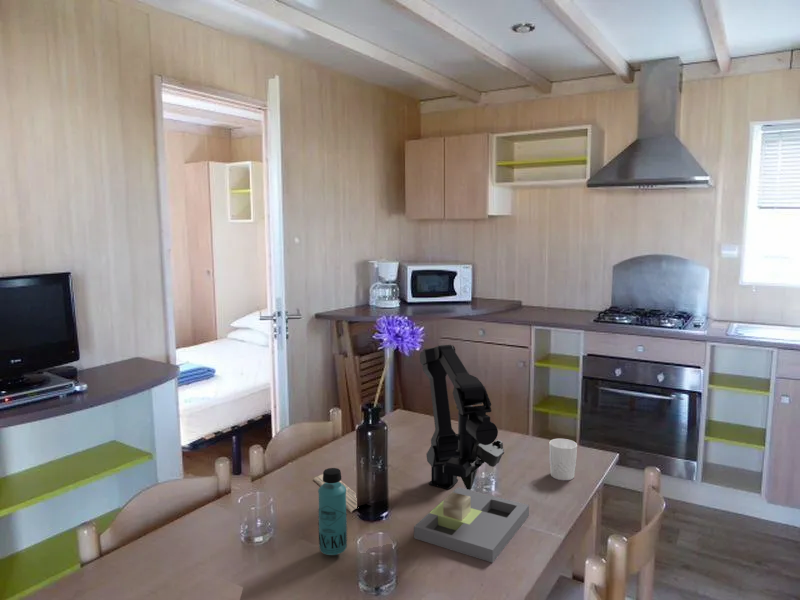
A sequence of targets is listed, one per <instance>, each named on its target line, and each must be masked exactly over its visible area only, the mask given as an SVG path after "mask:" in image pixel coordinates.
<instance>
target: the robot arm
mask: <svg viewBox="0 0 800 600" xmlns="http://www.w3.org/2000/svg"><path fill="white" fill-rule="evenodd" d="M419 363H420V365H421V368H422V371H423V372H424V374H425V375H426V376H427V377H428V379H429V386H430V395H431V405H432V412H433V413H432V414H433V422H434V432H433V434H432V437H431V438H430V448H429V449H428V451H427V452H426V462H427V463H428V464H429V465H430V466H431V468H430V469H431V471H430V472H431V480H430V481H428V485H430V486H434V487H437V488H442V489H446V490H450V489H451V488H452V487H453V486H454V485H455V484H456V483H458V482H459V479H458V478H461V480H462V483H463V484H464V486H465V489H467V490H471V491H472V488H473V486H474V482H475V479H476V475H477V472H478V469H479V468H480V467H482V465H483V464H485V463H486V464H487V465H488V466H489V467H491V468H492V467H493V468H495V467H496V466H497V464H499V463H500V461H501V459H502V456H503V455H504V454H505V448H504V444H503V443H504V442H503V441H502V440H500V439H497V438H498V433H499V430H498V427H497V426H496V424H495V423H494V422H492V421H491V416H490V415H488V414H487V413H492V407H491V406H492V402H491V399H490V397H489V395H488V392H487V389H486V386H485V385H484V384H483V383H482V382H481V380H480V379H479V378H478V377H476V376H474V375H473V374H470V373H469V372H468V370H467V368H466V366H465V365H464V364H463V361H461V359H460V357H459V355H458V354H457V353H456V347H455V346H454V344H453V345H452V344H440V345H437V346H435V347H427V348H423V350H422V351H421V352H420V353H419ZM447 377H448V378H449V380H450V382H451V383H452V385H453V391H452V395H453V400H454V403H455V404H456V409H457V410H458V413H457V416H458V417H457V418H458V419H457V420H458V421H457V422H458V423H457V426H458V428H457V433H456V432H455V431H454V429H453V427H452V426H453V425H452V419H451V411H450V410H451V409H450V402H449V393H448V384H447ZM482 404H483V405H482Z"/></svg>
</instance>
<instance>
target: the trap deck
mask: <svg viewBox="0 0 800 600" xmlns="http://www.w3.org/2000/svg"><path fill="white" fill-rule="evenodd" d="M452 492H454V493H458V494H462V495H466V496H470V497H471V512H470V513H469V514H468V515H467V516H466V517H465V518H464V519H463V520H462V521H461V520H458V519H454V518H450V517H447V516H443V500H442V501H441V502H440V503H438V504H437V506H435V507H434V508H433V509H432V510H431V511H430V512H428V513H426V515H425V516H424V517H422V519H420V520H419V522H417V523H416V524H415V525H414V526H413V539H416V540H419V541H422V542H425V543H428V544H431V545H434V546H437V547H440V548H441V547H442V548H444V549H447V550H451V551H453V552H456V553H461V554H463V555H466V556H470V557H473V558H477V559H480V560H482V561H484V562H485V561H486V562H489V563H492V564H493V563H494V562H495V560H496V559H497V558H498V556H499V555H500V554H501V553H502V552H503V550H504V549H505V547H507V545H508V544H509V542H510V541H511V540H512V539H513V537H514V536H515V535H516V533H517V532H518V531H519V529H520V528H521V527H522V525H523V524H524V523H525V522H526V521H527V519H528V518H529V517H528V516H530V504H526V503H523V502H519V501H516V500H511V499H506V498H503V497H499V496H496V495H495V496H494V495H491V494H487V493H484V492H480V491H479V492H478V491H475V490H472V489H471V490H468V489H466V488H463V487H456V488H455V489H454V490H453V491H452ZM527 517H528V518H527ZM524 521H525V522H524Z"/></svg>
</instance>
